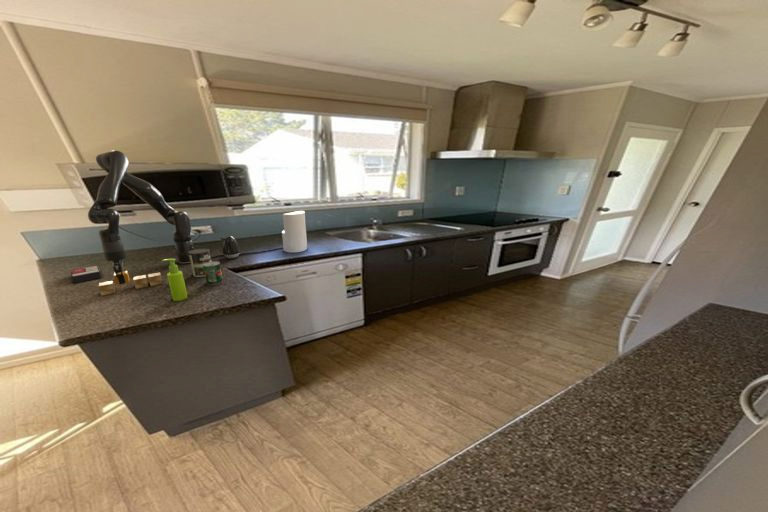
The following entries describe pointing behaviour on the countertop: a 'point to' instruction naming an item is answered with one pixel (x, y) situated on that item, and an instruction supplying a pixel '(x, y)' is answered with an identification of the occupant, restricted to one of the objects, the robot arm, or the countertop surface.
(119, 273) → the mustard block
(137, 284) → the maple block middle
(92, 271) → the red and grey box
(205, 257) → the coffee can
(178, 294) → the soap dispenser
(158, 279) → the maple block
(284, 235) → the cylinder
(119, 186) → the robot arm
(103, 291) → the maple block
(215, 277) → the canned tomato
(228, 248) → the dark ribbed dome
